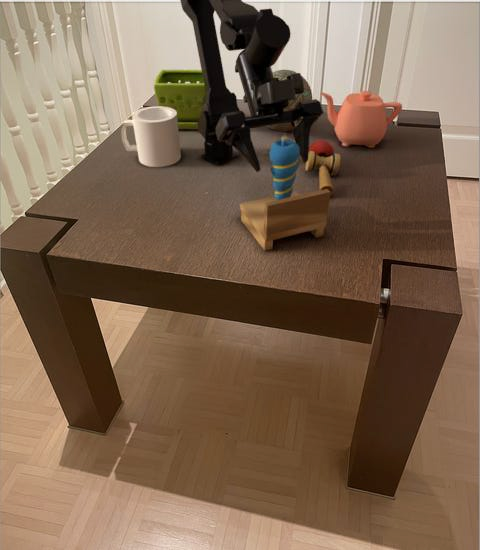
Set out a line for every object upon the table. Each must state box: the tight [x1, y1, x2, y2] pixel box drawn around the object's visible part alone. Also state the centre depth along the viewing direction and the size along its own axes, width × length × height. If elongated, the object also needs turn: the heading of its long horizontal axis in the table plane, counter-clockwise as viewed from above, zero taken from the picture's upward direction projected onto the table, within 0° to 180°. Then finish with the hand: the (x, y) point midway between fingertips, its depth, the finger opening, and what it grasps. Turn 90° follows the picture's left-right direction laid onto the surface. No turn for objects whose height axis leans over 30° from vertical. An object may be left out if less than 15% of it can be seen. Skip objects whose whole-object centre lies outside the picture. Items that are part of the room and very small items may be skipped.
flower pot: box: [153, 69, 206, 130], centre depth 124 cm, size 14×14×13 cm
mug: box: [120, 105, 182, 168], centre depth 108 cm, size 14×10×11 cm
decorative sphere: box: [267, 69, 313, 132], centre depth 120 cm, size 15×15×15 cm
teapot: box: [320, 90, 403, 149], centre depth 114 cm, size 13×20×12 cm, turn 81°
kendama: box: [305, 139, 341, 197], centre depth 101 cm, size 8×6×18 cm
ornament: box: [269, 133, 300, 200], centre depth 80 cm, size 5×5×15 cm
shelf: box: [239, 189, 331, 252], centre depth 84 cm, size 12×12×10 cm
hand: (282, 166), depth 80 cm, fingers open, 9 cm apart
